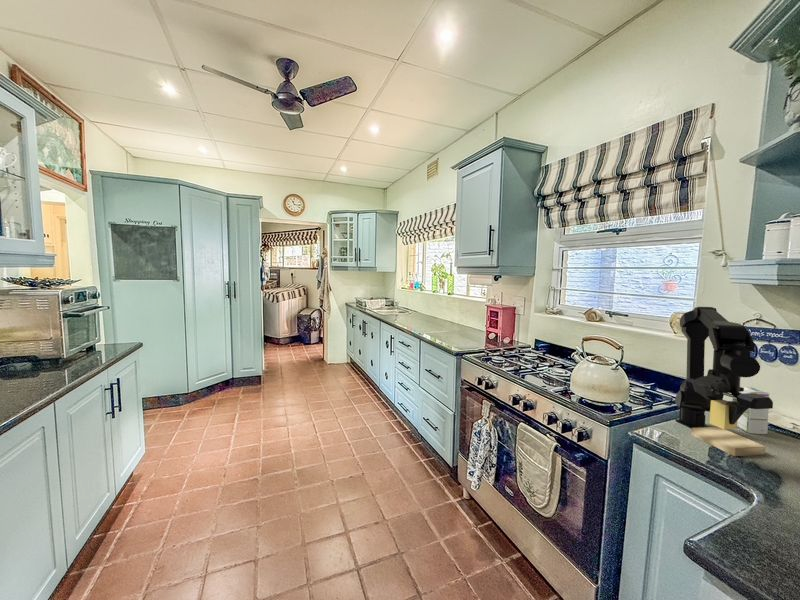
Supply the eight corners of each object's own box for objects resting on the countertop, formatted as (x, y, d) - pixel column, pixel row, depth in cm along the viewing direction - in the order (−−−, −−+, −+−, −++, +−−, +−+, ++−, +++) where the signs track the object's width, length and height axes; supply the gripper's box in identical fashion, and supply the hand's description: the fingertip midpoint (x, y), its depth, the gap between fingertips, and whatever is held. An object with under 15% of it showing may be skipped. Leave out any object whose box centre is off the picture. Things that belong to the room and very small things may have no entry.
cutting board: (691, 435, 108) (691, 427, 108) (718, 433, 109) (718, 426, 109) (734, 456, 95) (735, 448, 95) (764, 454, 96) (765, 446, 96)
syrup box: (768, 434, 108) (771, 392, 107) (747, 433, 109) (750, 391, 109) (753, 427, 114) (756, 387, 113) (733, 425, 115) (736, 386, 114)
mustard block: (709, 423, 95) (710, 399, 95) (721, 422, 96) (723, 399, 95) (724, 429, 91) (725, 404, 91) (736, 428, 92) (738, 404, 91)
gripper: (670, 360, 101) (668, 409, 102) (737, 378, 83) (734, 437, 84) (703, 359, 102) (700, 407, 103) (776, 377, 84) (772, 435, 85)
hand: (723, 420), depth 94 cm, fingers closed on mustard block, 4 cm apart
